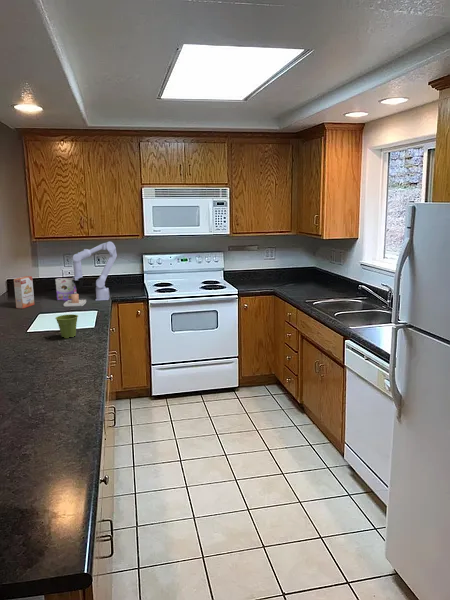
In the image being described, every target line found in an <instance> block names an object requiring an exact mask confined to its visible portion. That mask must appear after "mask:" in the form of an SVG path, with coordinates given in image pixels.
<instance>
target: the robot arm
mask: <svg viewBox="0 0 450 600" xmlns="http://www.w3.org/2000/svg"><path fill="white" fill-rule="evenodd" d="M101 250H103V251H106V250H107V251H108V253H109V257H108V258H107V261H106V263H105V265H104V267H103V270H102V272H101V273H100V275H99V277H97V279H96V280H95V286H96V287H95V295H96V296H95V297H96V298H95V300H94V301H109V300H110V289H109V287H106V286H105V285H106V280H107V277H108V276H109V274H110V271H111V269H112V267H113V266H114V263H115V261H116V259H117V257H118V254H117V247H116V245H115V243H114V242H113V241H107V242H103V243H100V244H98V245H97V246H95V247H92V248H90V249H88V248H84V249H83V250H81V251H80V252H79V251H78V252H77V253H74V254H73V256H72V261H73V262H72V263H73V276H72V278H75V280H73V282H74V283H75V286H76V291H77V290H80V289H82V288H83V284H84V280H85V277H84V276H83V266H82V260H85V259H87V258H89V257H91V256H92V254H94V253H97V252H99V251H101Z"/></svg>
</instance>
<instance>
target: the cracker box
mask: <svg viewBox="0 0 450 600" xmlns="http://www.w3.org/2000/svg"><path fill="white" fill-rule="evenodd" d="M13 287H14V298H15V308H16V309H21V310H22V309H25V308H26V309H27V308H29V307H31V306H35V296H34V295H35V294H34V283H33V276H30V275H28V276H27V275H26V276H25V275H24V276H21V277H17V278H14V279H13Z"/></svg>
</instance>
